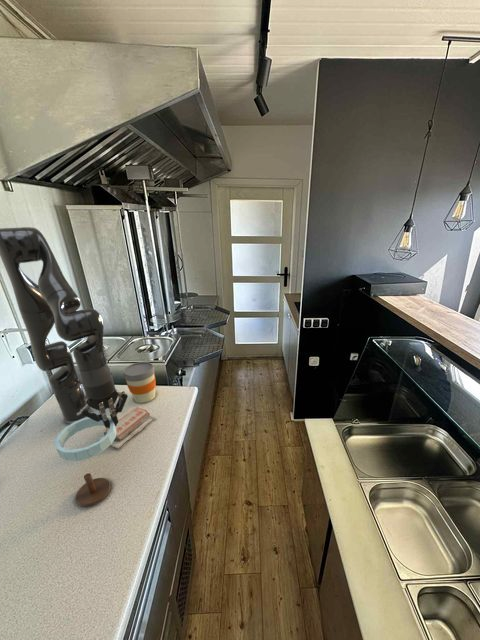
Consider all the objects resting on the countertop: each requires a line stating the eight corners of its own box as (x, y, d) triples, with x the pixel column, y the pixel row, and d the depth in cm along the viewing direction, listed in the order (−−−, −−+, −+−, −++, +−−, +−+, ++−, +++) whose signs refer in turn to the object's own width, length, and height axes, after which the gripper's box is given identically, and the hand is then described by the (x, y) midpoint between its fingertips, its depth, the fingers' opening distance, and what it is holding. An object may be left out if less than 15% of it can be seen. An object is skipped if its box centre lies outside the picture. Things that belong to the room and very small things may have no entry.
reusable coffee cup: (127, 395, 132) (119, 367, 126) (154, 386, 139) (148, 359, 132) (134, 408, 123) (126, 379, 116) (163, 398, 130) (157, 369, 123)
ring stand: (73, 492, 87) (65, 475, 83) (105, 475, 92) (98, 458, 89) (81, 513, 81) (73, 495, 77) (114, 493, 86) (108, 475, 83)
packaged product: (134, 403, 118) (152, 409, 114) (136, 413, 120) (154, 419, 117) (95, 431, 104) (114, 439, 100) (99, 441, 106) (118, 449, 102)
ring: (53, 440, 85) (49, 431, 84) (107, 417, 94) (104, 409, 93) (65, 470, 75) (61, 461, 74) (123, 441, 85) (121, 433, 83)
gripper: (117, 365, 87) (129, 411, 95) (66, 382, 79) (84, 430, 87) (126, 375, 83) (138, 421, 90) (73, 393, 74) (91, 443, 82)
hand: (112, 426), depth 89 cm, fingers closed on ring, 1 cm apart
